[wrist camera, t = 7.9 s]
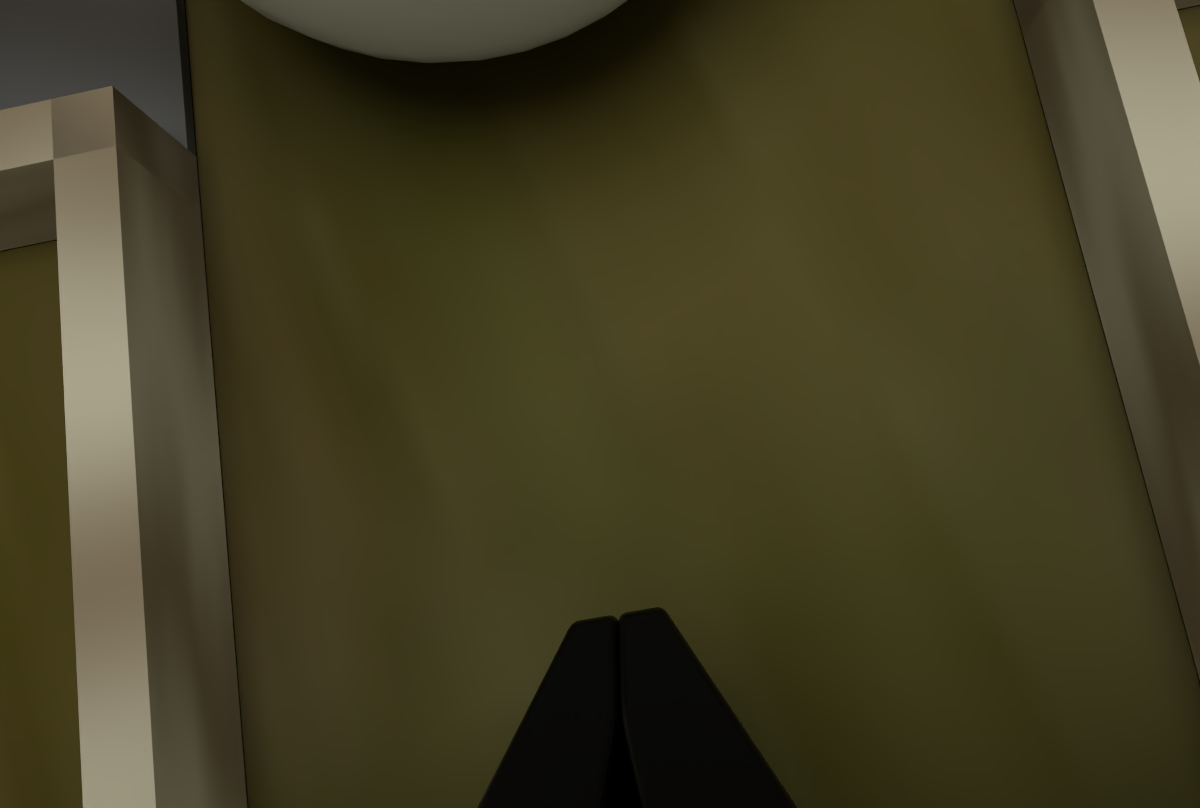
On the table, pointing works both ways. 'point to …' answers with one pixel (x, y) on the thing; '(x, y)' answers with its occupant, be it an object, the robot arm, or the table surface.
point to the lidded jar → (435, 25)
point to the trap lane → (184, 357)
